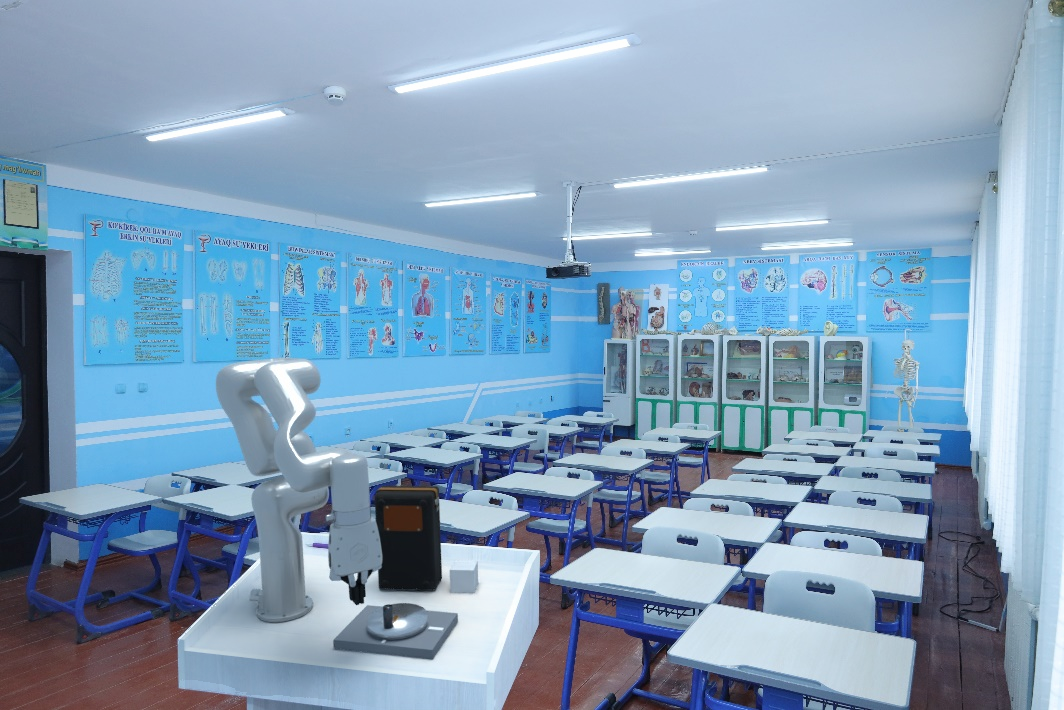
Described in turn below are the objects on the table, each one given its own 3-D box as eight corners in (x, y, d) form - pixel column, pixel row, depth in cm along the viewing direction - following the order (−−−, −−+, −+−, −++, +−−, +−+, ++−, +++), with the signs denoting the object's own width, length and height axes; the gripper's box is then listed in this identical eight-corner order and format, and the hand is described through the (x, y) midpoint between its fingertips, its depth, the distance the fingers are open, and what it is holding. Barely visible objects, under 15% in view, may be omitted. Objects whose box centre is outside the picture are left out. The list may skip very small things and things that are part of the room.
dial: (382, 608, 162) (381, 582, 161) (436, 613, 159) (435, 586, 159) (356, 636, 150) (354, 608, 149) (414, 642, 147) (413, 613, 146)
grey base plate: (333, 648, 149) (333, 638, 149) (367, 613, 165) (367, 603, 165) (432, 659, 145) (432, 648, 144) (457, 621, 160) (457, 611, 160)
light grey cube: (455, 582, 181) (454, 560, 180) (478, 583, 180) (477, 560, 179) (450, 593, 175) (449, 569, 174) (474, 593, 174) (473, 570, 173)
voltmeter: (444, 578, 183) (441, 484, 180) (436, 593, 174) (433, 494, 172) (385, 577, 185) (381, 483, 182) (374, 592, 176) (370, 494, 173)
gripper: (320, 528, 138) (327, 619, 140) (393, 512, 146) (399, 598, 147) (310, 518, 144) (316, 605, 146) (380, 504, 152) (386, 586, 154)
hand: (357, 601), depth 147 cm, fingers closed
